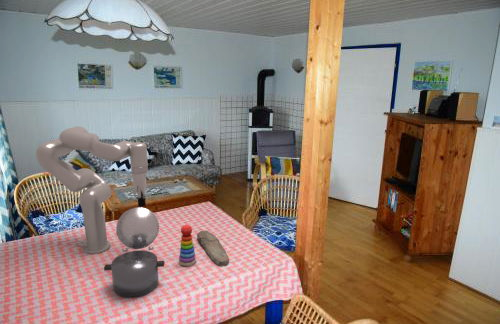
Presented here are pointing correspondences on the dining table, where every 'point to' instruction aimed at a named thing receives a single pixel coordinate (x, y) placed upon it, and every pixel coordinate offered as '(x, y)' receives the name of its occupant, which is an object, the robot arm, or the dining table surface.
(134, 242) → the cooker lid
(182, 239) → the stacking toy
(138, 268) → the cooker pot
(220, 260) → the elongated rock
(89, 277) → the dining table surface
